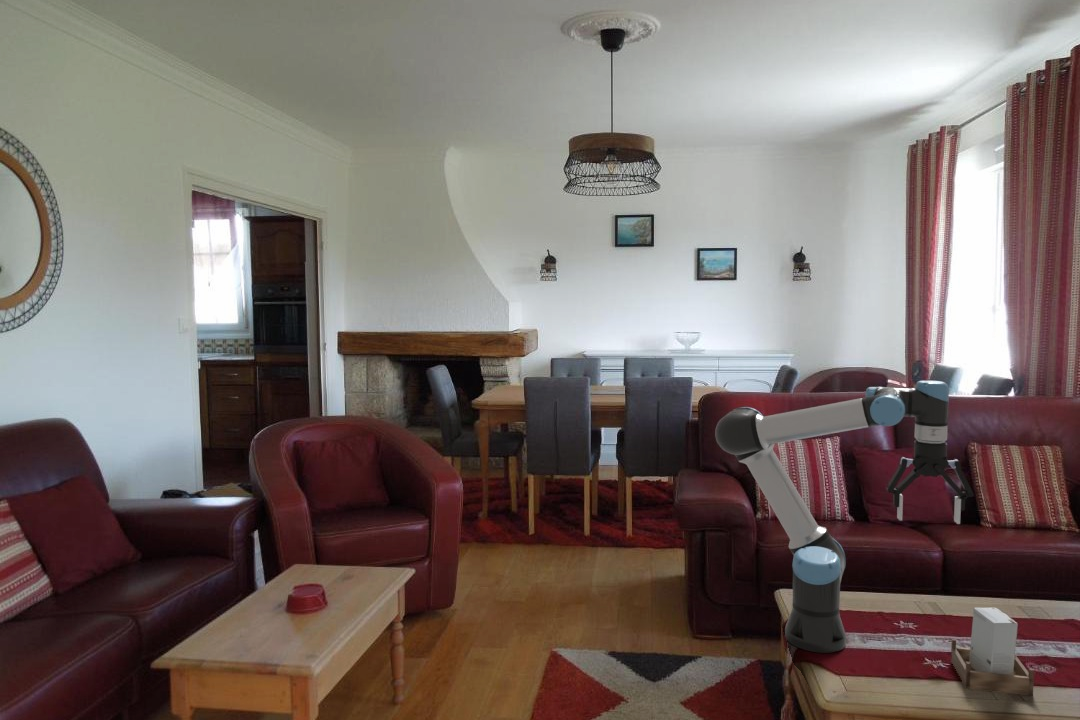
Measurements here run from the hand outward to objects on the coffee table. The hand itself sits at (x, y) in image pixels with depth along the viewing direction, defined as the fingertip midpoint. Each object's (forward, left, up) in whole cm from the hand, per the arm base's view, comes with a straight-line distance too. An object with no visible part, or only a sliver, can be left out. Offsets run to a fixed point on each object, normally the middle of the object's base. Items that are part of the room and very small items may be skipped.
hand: (928, 520), depth 192 cm
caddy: (+10, -19, -32) cm, 38 cm away
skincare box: (+10, -19, -31) cm, 38 cm away
